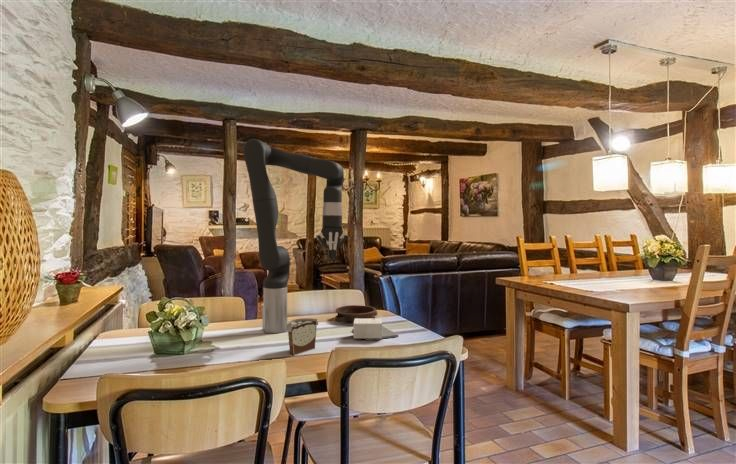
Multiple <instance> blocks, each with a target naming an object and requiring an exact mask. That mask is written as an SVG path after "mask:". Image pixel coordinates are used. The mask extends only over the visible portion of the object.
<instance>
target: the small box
mask: <svg viewBox="0 0 736 464" xmlns="http://www.w3.org/2000/svg"><path fill="white" fill-rule="evenodd" d="M382 326H383V320H382V318H377V317H376V318H374V317H373V318H369V319H354V323H353V329H354V332H353V339H363V338H382Z"/></svg>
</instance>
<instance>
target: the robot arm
mask: <svg viewBox="0 0 736 464" xmlns="http://www.w3.org/2000/svg"><path fill="white" fill-rule="evenodd" d="M242 149H243V150H242V154H243V158H244V161H245V165H246V170H247V174H248V179H249V186H250V191H251V198H252V206H253V211H254V212H253V213H254V217H255V225H256V229H257V231H256V232H257V239H258V256H259V262H260V265H261V266H262V268H263V269H264V270H266V271H267V272H268V273H267V276H266V277H265V278H264V279H263V283H262V285H263V288H262V289H263V299H262V300H263V301H262V302H263V305H262V306H261V307H262V312H261V313H262V317H261V318H262V321H261V323H262V325H261V326H262V328H261V330H262V331H263V332H264V333H265V334H280V333H284V332H288V331H287V330H286V326H287V324H288V282H289V280H290V269H291V256H290V253H289V251H288V249H287V248H286V247H284V246H282V245H278V242H277V236H276V229H277V223H278V219H279V206H278V200H277V199H278V198H277V194H276V192H275V189H274V187H273V184H272V183H271V180H270V179H269V176H268V172H267V166H275V167H280V168H284V169H288V170H291V171H294V172H297V173H301V174H305V175H309V176H316V177H318V178H322V179H326V184H325V185H326V186H325V188H324V189H323V194H322V195H323V198H322V199H323V203H322V223H321V224H322V227H321V231H320V233H319V234H316V235H315V238H316V240H317V241H318V242H319V244H320V245H321V247H322V248H324V249H327V250H326V251H327V258H328V259H329V260H330V261H331V260H332V261H333V260H335V259H336V257H337V249H341V248H342V246H343V245H344V244H345V242H346V241H347V240H348V239H349V236H348V235H347V234H345V233H344V231H343V205H342V204H343V203H342V201H343V199H342V198H343V193H342V192H343V191H342V190H343V186H344V179H345V171H344V168H343V166H342V165H341V163H337V162H336V161H334V160H328V159H323V158H318V157H314V156H311V155H306V154H301V153H296V152H289V151H284V150H281V149H279V148H276V147H273V146H271V145H269V144H267V143H266V142H265V141H262V140H260V139H258V138H250V139H248V140H247V141H245V143H244V145H243V148H242ZM324 239H325V240H326V241H325V240H324Z"/></svg>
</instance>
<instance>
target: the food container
mask: <svg viewBox="0 0 736 464" xmlns="http://www.w3.org/2000/svg"><path fill="white" fill-rule="evenodd" d="M318 325H319V321H318V318H305V317H304V318H302V317H301V318H295V319H291V320H289V321H287V326H286V330H287V331H286V332H287V337H288V345H289V346H288V347H289V354H290V355H292V356H298V355H300V354H303V353H307V352H309V351H313V350H316V342H317V341H316V340H317V339H316V338H317V326H318Z"/></svg>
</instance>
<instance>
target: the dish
mask: <svg viewBox="0 0 736 464" xmlns="http://www.w3.org/2000/svg"><path fill="white" fill-rule="evenodd" d="M335 312H336V314H337V315H335V317H334V321H335V322H338V323H340V322H341V323H342V322H344V323H348V324H349V323H350V324H354V319H369V318H374V317H375V316H378V311H377V308H376V307H374V306H369V305H361V304H360V305H354V304H353V305H352V304H351V305H343V306H340V307H337V308H336V309H335Z"/></svg>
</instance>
